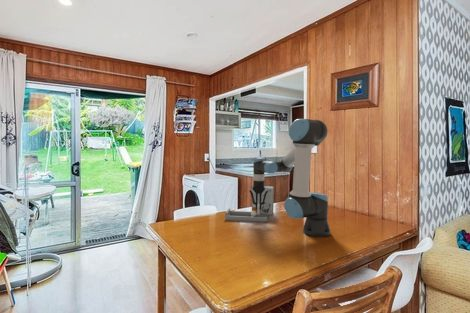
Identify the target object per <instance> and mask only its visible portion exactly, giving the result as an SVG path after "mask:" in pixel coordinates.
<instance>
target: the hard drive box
mask: <svg viewBox="0 0 470 313" xmlns="http://www.w3.org/2000/svg"><path fill="white" fill-rule="evenodd" d="M264 187H265V189H266V190H268V193H267V194H266V197H265V201H264V204H263V205H261V210H260V212H267V213H268V215H270V216H272V215H273V214H274V204H275V203H274V200H275V198H274V196H275V187H274V186H268V185H264ZM252 188H253V186H252ZM252 188H251V189H252ZM264 194H265V192H264V191H263V193H262V196H261V203H262V202H263V198H264ZM253 195H254V200H255V202H256V193H255V192H254V190H253ZM259 198H260V195H259V194H258V204H259ZM252 211H256V212H257V210H256V205H255V204H253V201H252V200H251V212H252Z"/></svg>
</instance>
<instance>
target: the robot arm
mask: <svg viewBox="0 0 470 313" xmlns="http://www.w3.org/2000/svg"><path fill="white" fill-rule="evenodd" d="M328 129H329V128H328V127H327V125H326V123H324V121H322V120H320V119H309V118H297V119H295V120H294V121H293V122H292V123H291V124H290V126H289V128H288V136H289V138H290V140H291V141H292V145H293V146H294V147H293V149H292V150H290V152H288V153H287V154H286V155H285V156H284V157H283V158H282V159H281V160H277V161H276V160H275V161H274V160H273V161H271V160H269V161H268V160H265V157H254V158H253V169H252V170H253V174H252V175H253V177H252V178H253V182H252V184H253V186H252V187H253V188H251V189H249V190H248V191H249V193H250V197H251V202H252V201H253V204H255V205H256V210H257V215H259V214H260V210H261V205H263V204H264V201H265V197H266V194H267V193H268V190H266V189H265V187H264V186H265V173H267V174H277V173H289V172H291V171H292V170H293V180H292V190H291V191H290V192H289V197H287V198H286V199H285V200H284V203H283V204H284V211H285V213H286V214H287V215H288V216H289V218H291V219H293V220H296V219H297V220H298V219H299V220H300V219H301V220H302V219H305V218H306V219H305V221H304V225H303V228H302V232H303V233H304V234H306V235H307V236H311V237H317V238H323V237H328V236H329V237H330V236H331V227H330V224H329V221H328V215H329V214H328V213H329V212H328V210H329V207H328V204H329V201H328V195H326V194H325V193H319V192H312V191H310V190H309V189H310V179H311V178H310V177H311V164H312V163H311V162H312V161H311V160H312V152H313V151H312V149H314V148H315V147H317V146H319V145H321V144H322V143H323V142H324V140H325V139H326V138H327V137H328V132H329V130H328ZM253 190H254V192H255V193H256V202H255V200H254V195H253ZM263 191H264V192H265V194H264V198H263V202H262V203H261V196H262V193H263ZM258 194H259V195H260V198H259V204H258Z"/></svg>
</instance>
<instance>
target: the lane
mask: <svg viewBox="0 0 470 313" xmlns="http://www.w3.org/2000/svg"><path fill="white" fill-rule="evenodd" d="M251 212H252V211H240V210H238V211H237V210H231V208H230V207H229V208H228V209H226V211H225V216H224V217H225V218H224V220H225V221H231V222H232V221H233V222H248V223H249V222H250V223H251V222H252V223H268V217H269V216H268V213H267V212H260V214H259V215H257V214H256V216H254V217H253V216H252V215H251ZM256 213H257V212H256Z"/></svg>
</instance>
